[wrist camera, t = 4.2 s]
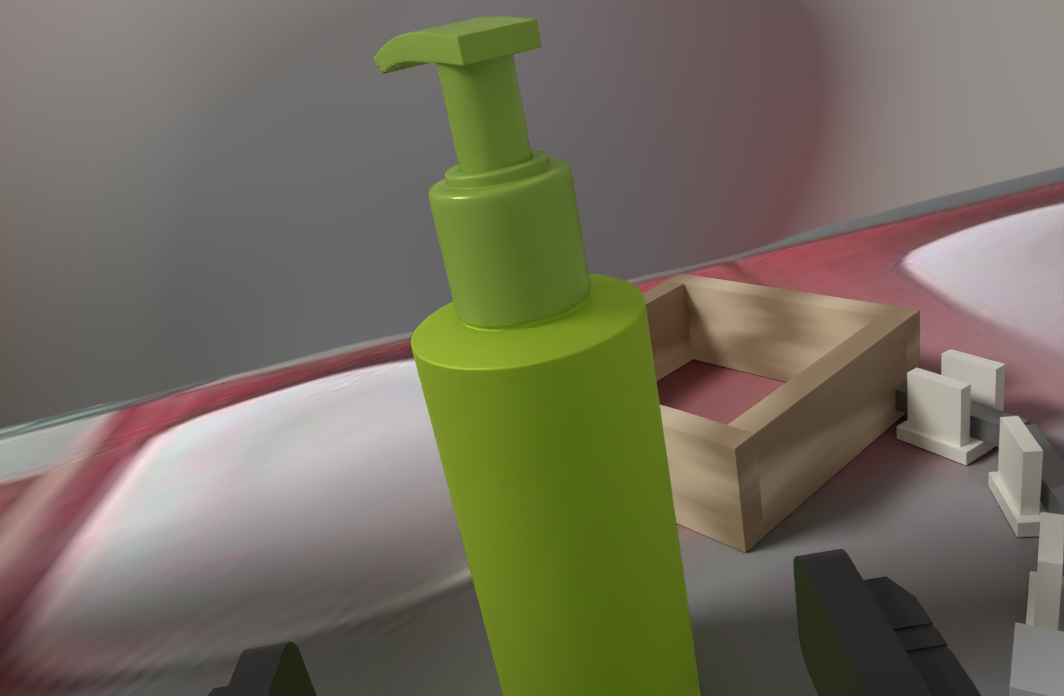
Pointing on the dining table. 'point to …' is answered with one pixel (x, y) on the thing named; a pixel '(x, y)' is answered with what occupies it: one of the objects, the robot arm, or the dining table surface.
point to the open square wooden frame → (774, 395)
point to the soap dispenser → (544, 402)
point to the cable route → (1001, 492)
